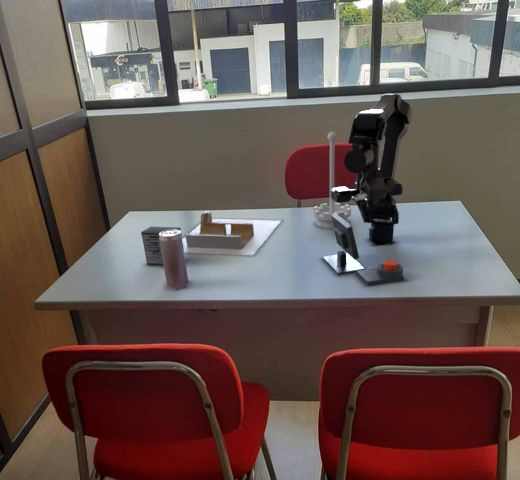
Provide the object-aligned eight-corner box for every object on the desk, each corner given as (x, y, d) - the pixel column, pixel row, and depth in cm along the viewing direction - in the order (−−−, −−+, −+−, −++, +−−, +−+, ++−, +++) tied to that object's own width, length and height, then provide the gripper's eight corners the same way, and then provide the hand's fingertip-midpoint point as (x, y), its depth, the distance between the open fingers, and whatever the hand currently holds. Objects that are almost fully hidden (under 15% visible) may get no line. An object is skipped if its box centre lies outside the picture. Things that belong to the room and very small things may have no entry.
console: (393, 269, 144) (393, 259, 143) (406, 280, 137) (407, 269, 136) (356, 274, 143) (356, 264, 141) (368, 286, 136) (368, 275, 134)
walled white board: (166, 251, 169) (163, 229, 165) (206, 218, 197) (204, 198, 193) (252, 255, 161) (250, 231, 157) (281, 220, 189) (280, 199, 185)
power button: (393, 265, 140) (394, 259, 139) (399, 270, 137) (400, 263, 136) (381, 267, 139) (381, 261, 139) (386, 272, 136) (387, 265, 136)
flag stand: (353, 227, 177) (355, 133, 162) (314, 230, 178) (313, 136, 162) (348, 216, 188) (350, 127, 173) (312, 218, 189) (310, 130, 173)
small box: (186, 259, 161) (181, 226, 156) (177, 267, 156) (171, 233, 151) (156, 257, 165) (150, 225, 159) (146, 265, 159) (140, 232, 154)
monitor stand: (348, 255, 155) (348, 243, 153) (365, 271, 144) (365, 258, 142) (322, 259, 154) (322, 246, 152) (337, 275, 143) (337, 262, 141)
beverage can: (168, 281, 147) (159, 230, 139) (189, 279, 147) (181, 228, 140) (166, 290, 142) (157, 237, 134) (188, 288, 142) (180, 235, 134)
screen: (343, 242, 153) (335, 212, 148) (359, 257, 142) (352, 226, 137) (334, 246, 153) (326, 216, 148) (350, 261, 142) (342, 229, 137)
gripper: (344, 175, 129) (343, 235, 137) (414, 166, 132) (409, 226, 140) (330, 166, 139) (330, 223, 147) (395, 158, 142) (392, 214, 150)
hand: (365, 222), depth 146 cm, fingers closed
